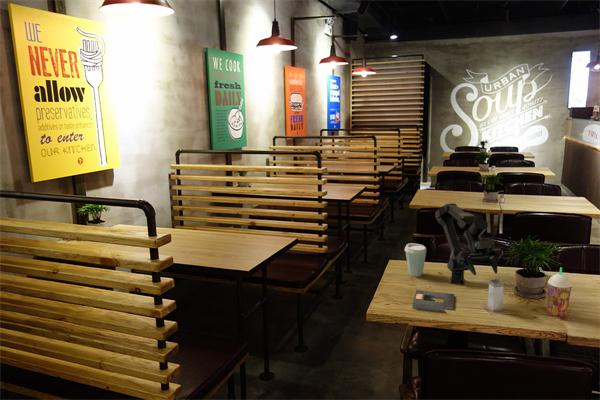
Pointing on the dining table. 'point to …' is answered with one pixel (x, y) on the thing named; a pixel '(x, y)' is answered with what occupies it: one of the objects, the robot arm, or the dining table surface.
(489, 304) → the grey square peg
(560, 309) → the smoothie
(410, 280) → the dining table surface
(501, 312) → the pad
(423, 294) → the flange plate
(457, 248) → the robot arm
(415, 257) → the disposable coffee cup
